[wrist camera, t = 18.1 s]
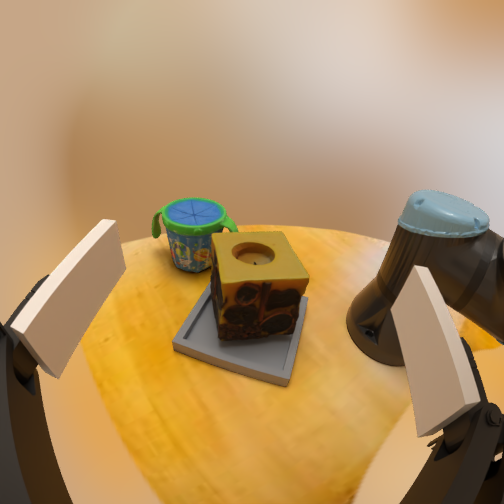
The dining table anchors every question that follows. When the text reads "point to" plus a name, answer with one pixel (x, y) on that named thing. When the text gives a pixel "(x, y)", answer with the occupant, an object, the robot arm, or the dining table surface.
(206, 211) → the snack cup
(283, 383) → the tray
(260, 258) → the candle
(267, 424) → the dining table surface
